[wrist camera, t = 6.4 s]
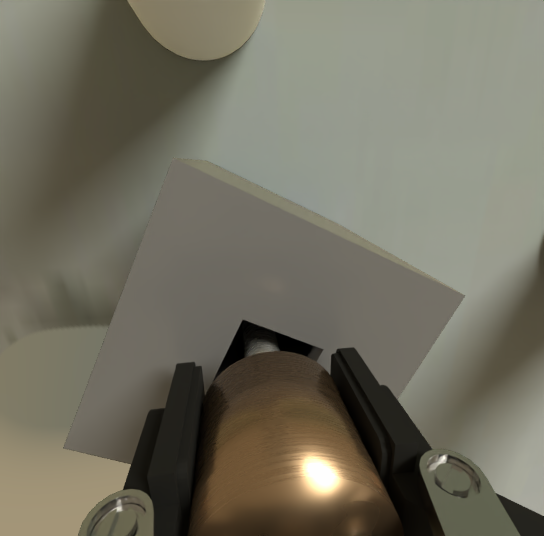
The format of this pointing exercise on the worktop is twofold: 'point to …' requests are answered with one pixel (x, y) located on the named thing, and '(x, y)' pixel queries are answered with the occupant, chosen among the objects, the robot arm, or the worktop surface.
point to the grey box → (248, 300)
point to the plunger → (283, 453)
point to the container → (199, 24)
